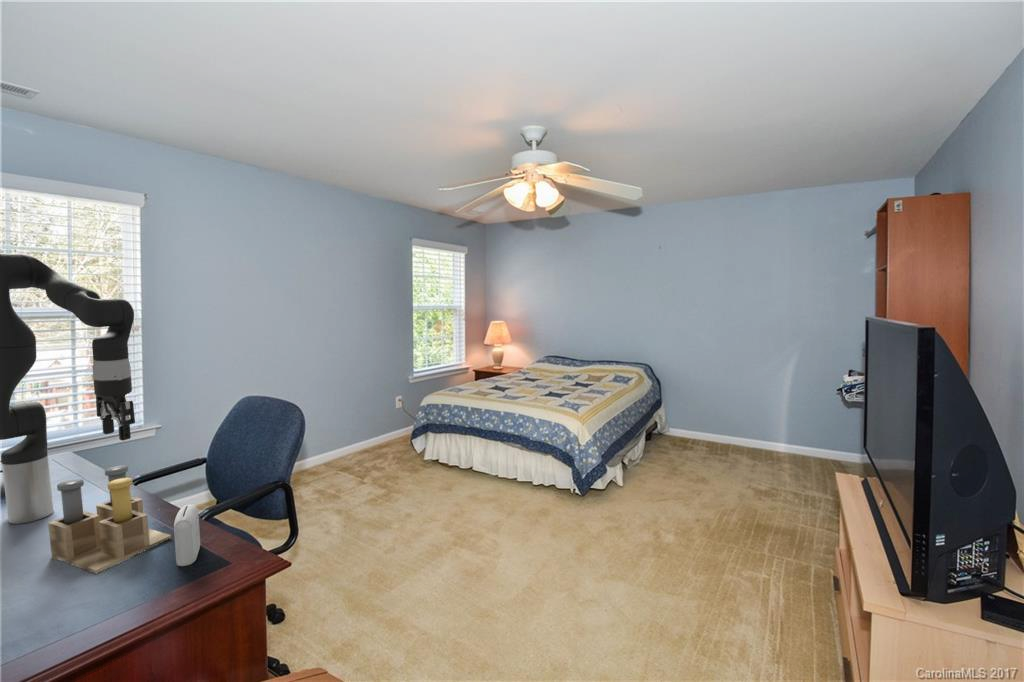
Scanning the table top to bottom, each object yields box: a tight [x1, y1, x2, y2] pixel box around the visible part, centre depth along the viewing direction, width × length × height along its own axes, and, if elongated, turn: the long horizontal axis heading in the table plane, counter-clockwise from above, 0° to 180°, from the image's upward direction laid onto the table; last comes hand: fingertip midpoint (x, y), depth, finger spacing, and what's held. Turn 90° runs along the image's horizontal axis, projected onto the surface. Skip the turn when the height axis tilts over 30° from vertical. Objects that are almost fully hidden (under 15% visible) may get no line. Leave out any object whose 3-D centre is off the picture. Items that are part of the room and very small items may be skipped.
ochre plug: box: [106, 477, 134, 524], centre depth 119 cm, size 5×5×10 cm
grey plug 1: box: [56, 478, 85, 525], centre depth 118 cm, size 5×5×10 cm
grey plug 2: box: [104, 464, 129, 507], centre depth 127 cm, size 5×5×10 cm
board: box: [47, 496, 172, 575], centre depth 122 cm, size 18×17×9 cm
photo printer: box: [173, 503, 201, 567], centre depth 118 cm, size 10×4×12 cm, turn 26°
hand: (116, 436), depth 125 cm, fingers open, 8 cm apart
